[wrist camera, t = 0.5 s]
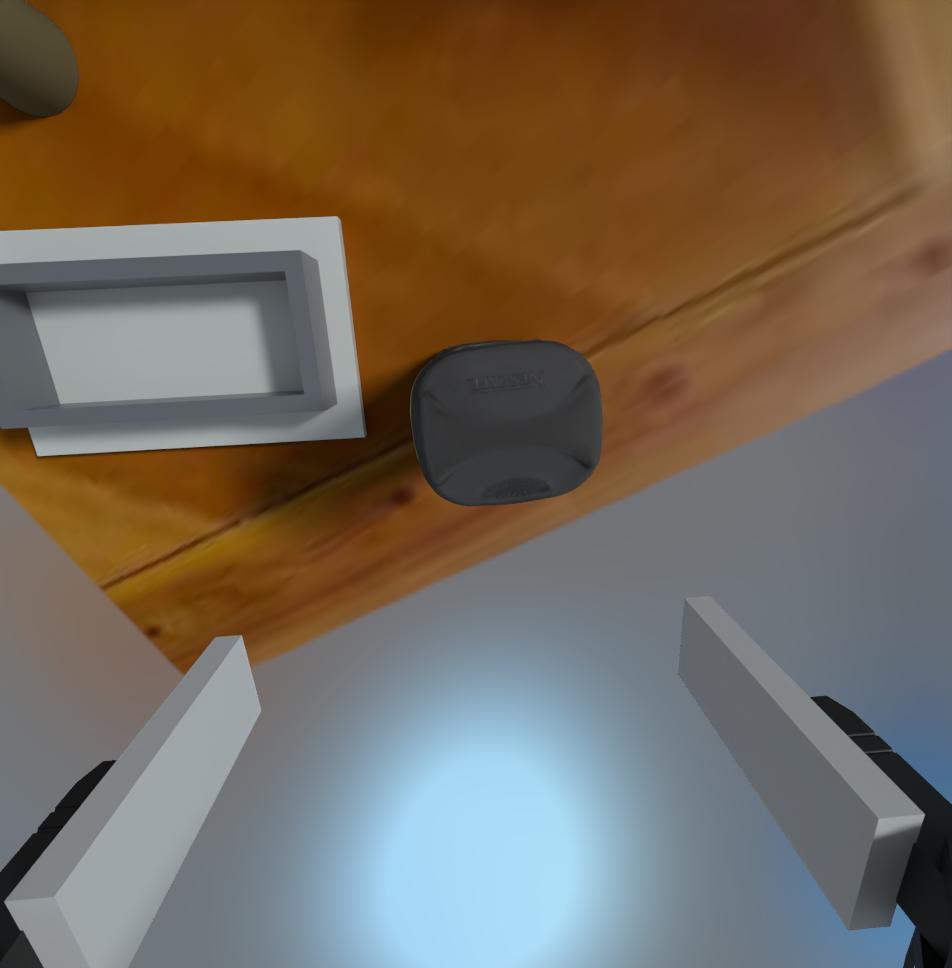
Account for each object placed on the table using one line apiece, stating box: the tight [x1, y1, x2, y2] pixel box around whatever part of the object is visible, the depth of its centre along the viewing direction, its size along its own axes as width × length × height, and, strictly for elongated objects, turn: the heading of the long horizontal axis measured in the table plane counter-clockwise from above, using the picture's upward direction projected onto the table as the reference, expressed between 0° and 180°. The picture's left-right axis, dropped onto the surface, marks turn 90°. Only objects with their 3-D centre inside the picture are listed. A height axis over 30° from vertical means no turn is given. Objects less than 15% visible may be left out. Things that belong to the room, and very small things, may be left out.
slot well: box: [0, 216, 367, 456], centre depth 33 cm, size 26×16×5 cm, turn 93°
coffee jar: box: [410, 339, 602, 506], centre depth 29 cm, size 10×8×19 cm
